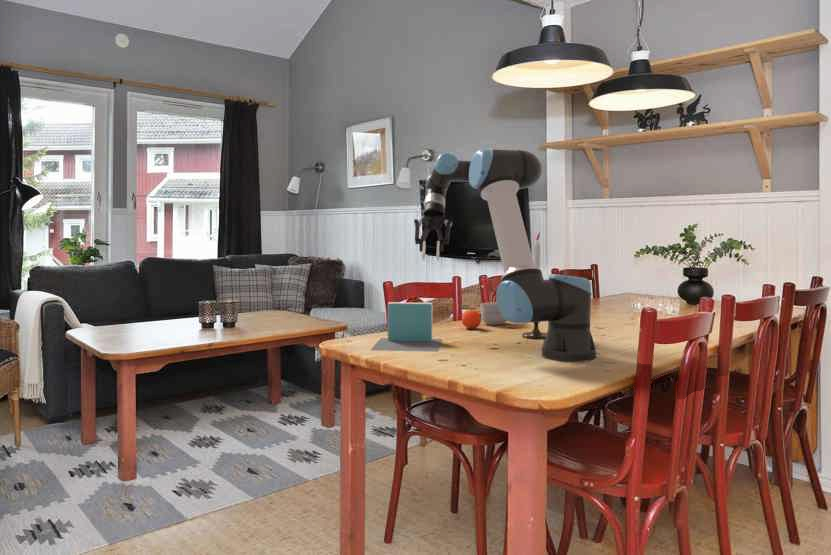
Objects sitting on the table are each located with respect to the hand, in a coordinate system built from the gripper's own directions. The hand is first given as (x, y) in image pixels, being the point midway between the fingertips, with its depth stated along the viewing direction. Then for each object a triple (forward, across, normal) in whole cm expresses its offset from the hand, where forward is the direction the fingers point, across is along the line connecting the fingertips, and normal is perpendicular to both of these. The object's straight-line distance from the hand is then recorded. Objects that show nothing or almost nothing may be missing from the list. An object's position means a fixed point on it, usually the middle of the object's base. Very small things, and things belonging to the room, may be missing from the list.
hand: (430, 257), depth 219 cm
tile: (+27, +5, -9) cm, 29 cm away
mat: (+32, +5, -5) cm, 33 cm away
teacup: (-1, -23, -38) cm, 45 cm away
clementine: (+8, -13, -29) cm, 33 cm away
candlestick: (+18, -35, -19) cm, 44 cm away
